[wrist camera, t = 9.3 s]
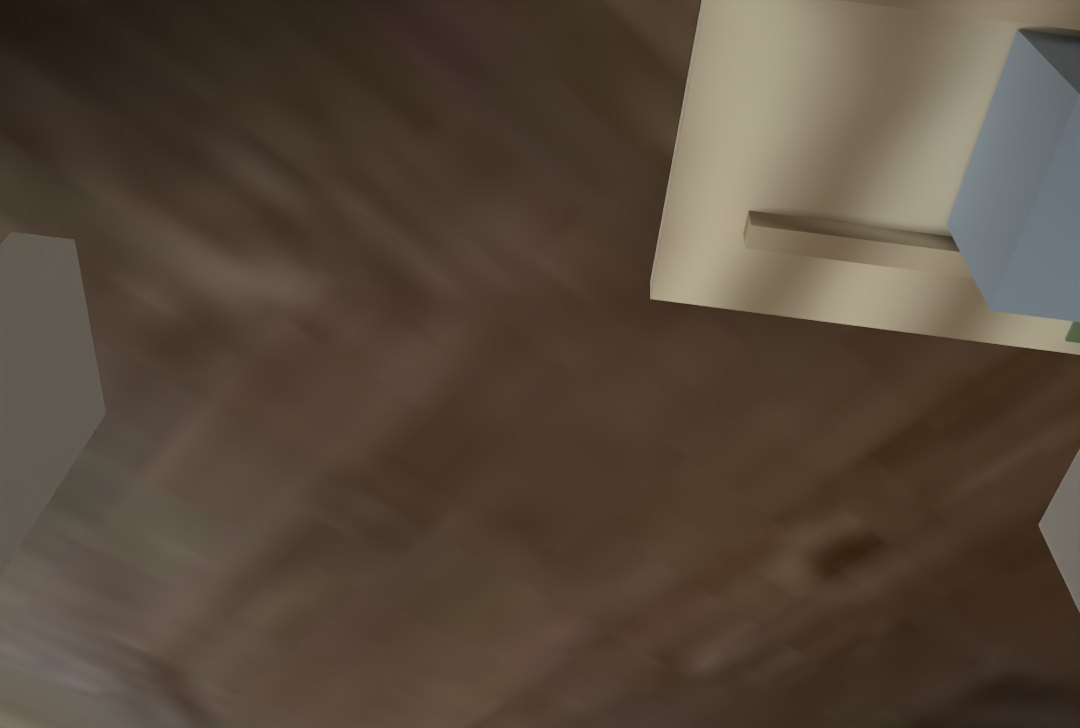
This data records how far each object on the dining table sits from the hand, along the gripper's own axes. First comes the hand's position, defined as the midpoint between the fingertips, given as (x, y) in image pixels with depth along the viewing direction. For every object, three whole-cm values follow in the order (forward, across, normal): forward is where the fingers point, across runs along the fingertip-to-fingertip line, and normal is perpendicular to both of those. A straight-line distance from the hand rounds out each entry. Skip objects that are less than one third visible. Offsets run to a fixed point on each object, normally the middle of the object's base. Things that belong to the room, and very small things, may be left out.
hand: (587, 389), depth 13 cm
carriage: (+18, +14, -3) cm, 23 cm away
